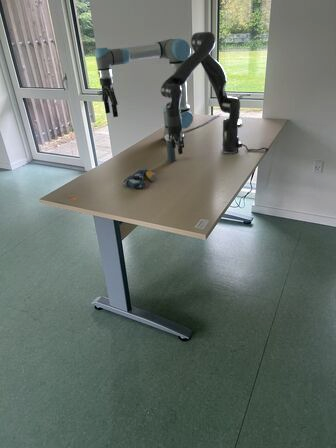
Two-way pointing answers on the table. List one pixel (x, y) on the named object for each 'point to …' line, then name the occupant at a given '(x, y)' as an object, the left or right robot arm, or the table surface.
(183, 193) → the table surface
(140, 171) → the spray gun
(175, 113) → the right robot arm
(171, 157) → the bottle
